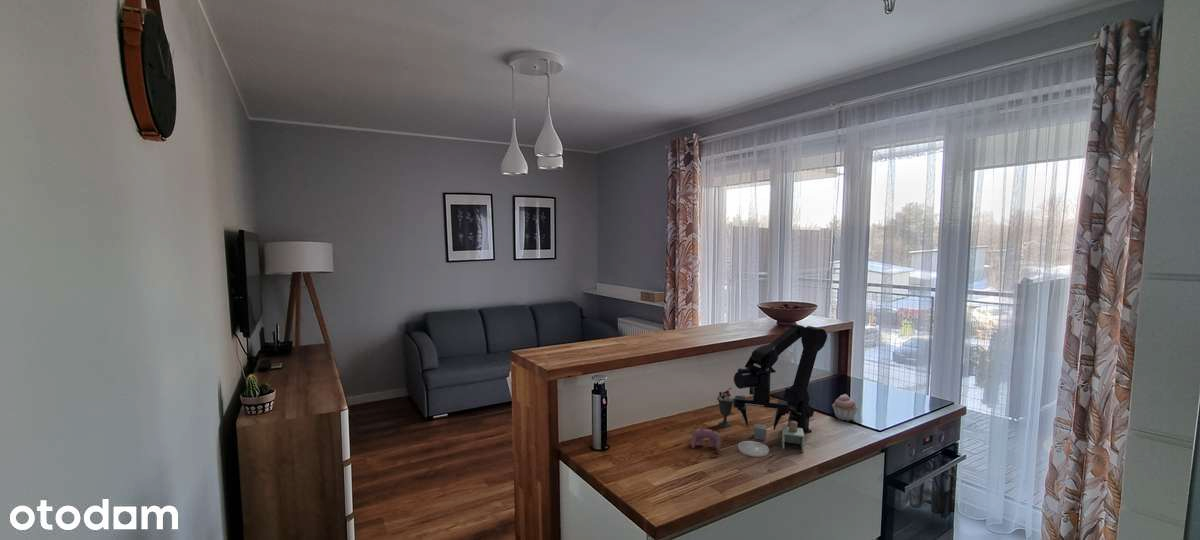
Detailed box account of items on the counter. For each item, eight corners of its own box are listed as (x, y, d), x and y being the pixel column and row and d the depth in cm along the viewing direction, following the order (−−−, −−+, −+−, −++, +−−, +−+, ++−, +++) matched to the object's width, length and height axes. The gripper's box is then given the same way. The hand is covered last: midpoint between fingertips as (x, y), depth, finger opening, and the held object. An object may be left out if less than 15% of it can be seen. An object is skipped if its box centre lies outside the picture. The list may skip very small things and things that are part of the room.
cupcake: (862, 419, 187) (863, 395, 187) (850, 424, 182) (851, 399, 181) (839, 412, 195) (840, 388, 194) (826, 417, 190) (827, 392, 189)
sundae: (734, 428, 178) (735, 389, 177) (716, 427, 179) (717, 388, 178) (733, 422, 184) (734, 384, 183) (715, 420, 186) (716, 383, 185)
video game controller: (720, 452, 162) (721, 431, 164) (720, 451, 158) (721, 430, 160) (691, 448, 165) (693, 427, 167) (690, 447, 161) (691, 426, 163)
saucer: (758, 442, 166) (758, 439, 166) (774, 455, 156) (775, 452, 156) (732, 445, 164) (732, 442, 164) (747, 458, 154) (747, 455, 154)
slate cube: (765, 435, 172) (766, 425, 172) (765, 440, 168) (766, 429, 168) (754, 434, 173) (754, 423, 173) (754, 438, 169) (754, 427, 169)
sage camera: (802, 443, 165) (802, 420, 165) (803, 451, 159) (804, 427, 158) (781, 440, 167) (782, 417, 167) (782, 448, 161) (783, 424, 161)
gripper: (788, 381, 174) (787, 422, 175) (736, 376, 180) (735, 416, 181) (790, 390, 163) (788, 434, 164) (734, 384, 169) (733, 427, 171)
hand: (760, 427), depth 170 cm, fingers open, 9 cm apart
